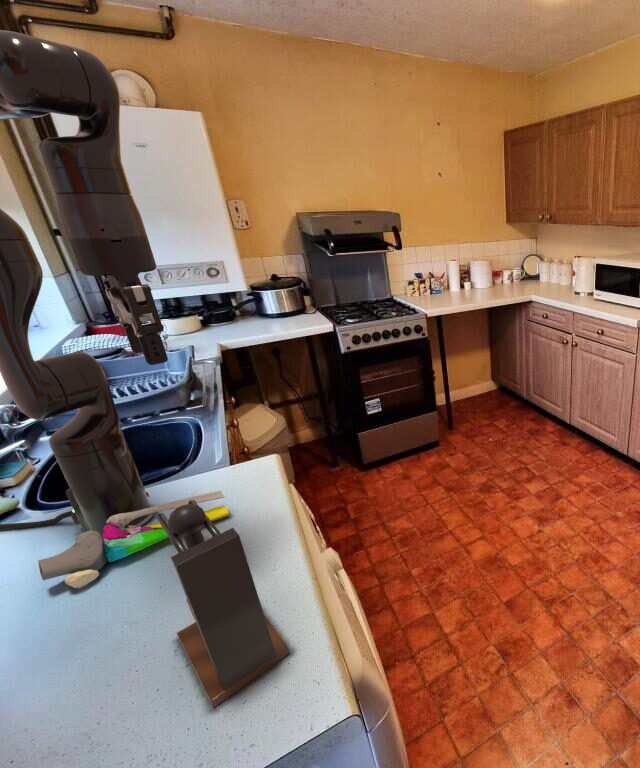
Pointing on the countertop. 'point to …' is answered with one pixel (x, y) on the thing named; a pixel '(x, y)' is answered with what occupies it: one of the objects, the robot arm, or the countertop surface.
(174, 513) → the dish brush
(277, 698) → the countertop surface
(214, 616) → the upright panel stand
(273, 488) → the countertop surface
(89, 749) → the countertop surface
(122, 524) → the knee model
